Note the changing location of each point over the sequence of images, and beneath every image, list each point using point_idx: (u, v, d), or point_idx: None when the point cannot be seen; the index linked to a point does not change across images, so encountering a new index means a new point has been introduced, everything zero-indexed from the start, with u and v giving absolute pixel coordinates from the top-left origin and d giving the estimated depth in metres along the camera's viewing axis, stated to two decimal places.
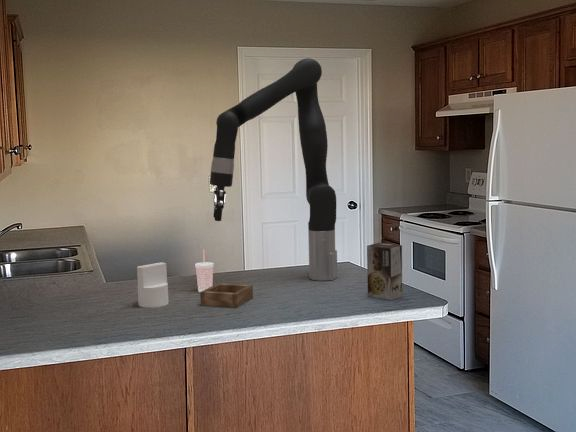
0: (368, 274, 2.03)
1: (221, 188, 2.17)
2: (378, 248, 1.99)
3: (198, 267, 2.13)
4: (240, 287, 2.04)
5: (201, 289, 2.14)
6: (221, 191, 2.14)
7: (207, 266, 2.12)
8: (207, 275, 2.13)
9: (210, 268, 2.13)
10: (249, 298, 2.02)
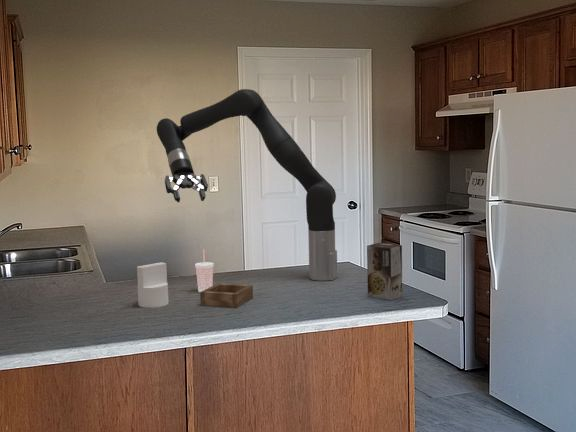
0: (368, 274, 2.03)
1: (173, 176, 2.27)
2: (378, 248, 1.99)
3: (198, 267, 2.13)
4: (240, 287, 2.04)
5: (201, 289, 2.14)
6: (165, 178, 2.25)
7: (207, 266, 2.12)
8: (207, 275, 2.13)
9: (210, 268, 2.13)
10: (249, 298, 2.02)
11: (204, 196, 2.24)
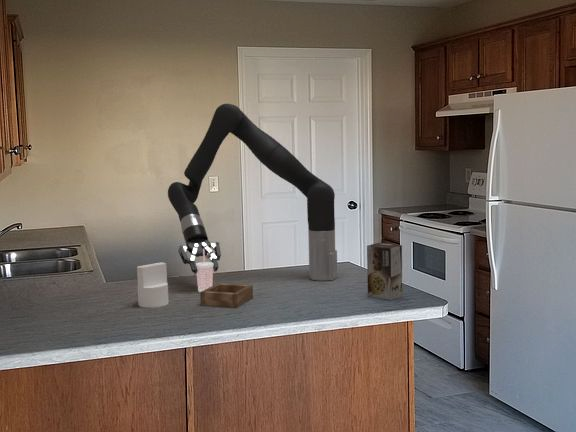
0: (368, 274, 2.03)
1: (186, 244, 2.18)
2: (378, 248, 1.99)
3: (198, 267, 2.13)
4: (240, 287, 2.04)
5: (201, 289, 2.14)
6: (179, 248, 2.16)
7: (207, 266, 2.12)
8: (207, 275, 2.13)
9: (210, 268, 2.13)
10: (249, 298, 2.02)
11: (217, 266, 2.15)
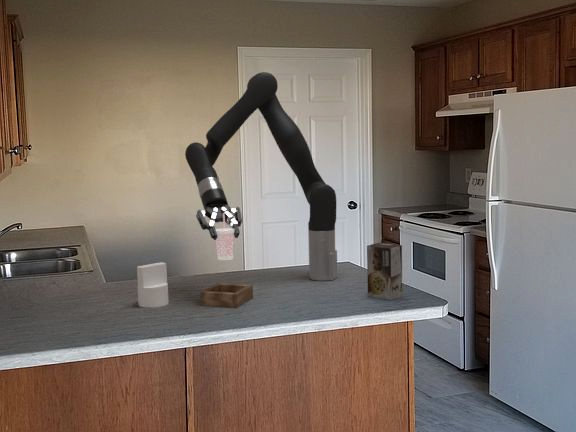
0: (368, 274, 2.03)
1: (205, 208, 2.02)
2: (378, 248, 1.99)
3: (218, 233, 1.97)
4: (240, 287, 2.04)
5: (221, 257, 1.98)
6: (197, 213, 2.00)
7: (228, 231, 1.96)
8: (227, 241, 1.97)
9: (231, 234, 1.97)
10: (249, 298, 2.02)
11: (238, 232, 1.99)
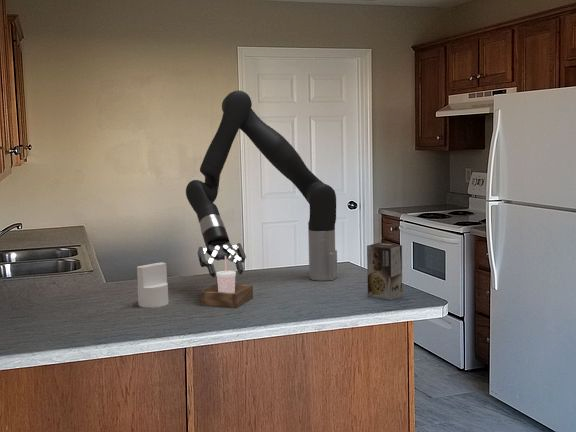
0: (368, 274, 2.03)
1: (207, 246, 2.03)
2: (378, 248, 1.99)
3: (220, 276, 1.98)
4: (240, 287, 2.04)
5: None
6: (198, 250, 2.02)
7: (229, 275, 1.98)
8: (229, 284, 1.98)
9: (232, 277, 1.99)
10: (249, 298, 2.02)
11: (242, 269, 2.01)
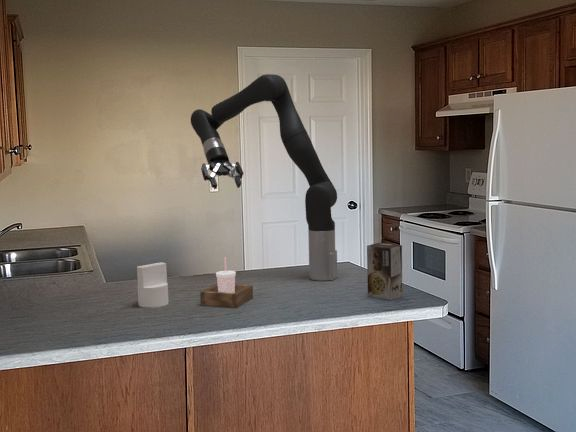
0: (368, 274, 2.03)
1: (209, 164, 2.33)
2: (378, 248, 1.99)
3: (219, 276, 1.98)
4: (240, 287, 2.04)
5: None
6: (202, 166, 2.31)
7: (229, 275, 1.98)
8: (229, 284, 1.98)
9: (232, 277, 1.99)
10: (249, 298, 2.02)
11: (240, 183, 2.30)
